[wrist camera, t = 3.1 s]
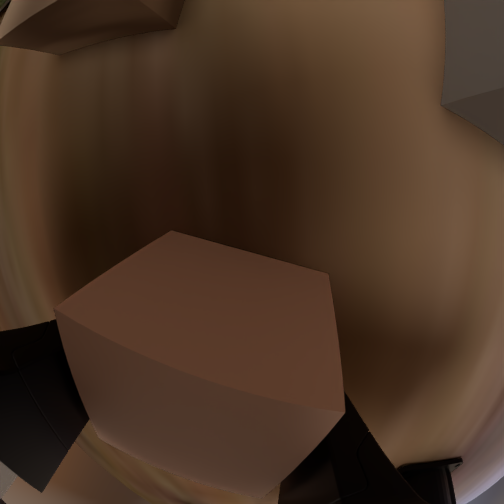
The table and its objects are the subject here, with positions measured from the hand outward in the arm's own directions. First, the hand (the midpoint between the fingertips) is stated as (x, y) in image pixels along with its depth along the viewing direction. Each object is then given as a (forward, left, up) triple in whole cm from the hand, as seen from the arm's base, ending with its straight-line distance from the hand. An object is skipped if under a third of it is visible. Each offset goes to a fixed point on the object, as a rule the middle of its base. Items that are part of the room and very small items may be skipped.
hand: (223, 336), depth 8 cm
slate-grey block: (-7, -11, -1) cm, 13 cm away
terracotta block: (0, 0, -1) cm, 1 cm away
